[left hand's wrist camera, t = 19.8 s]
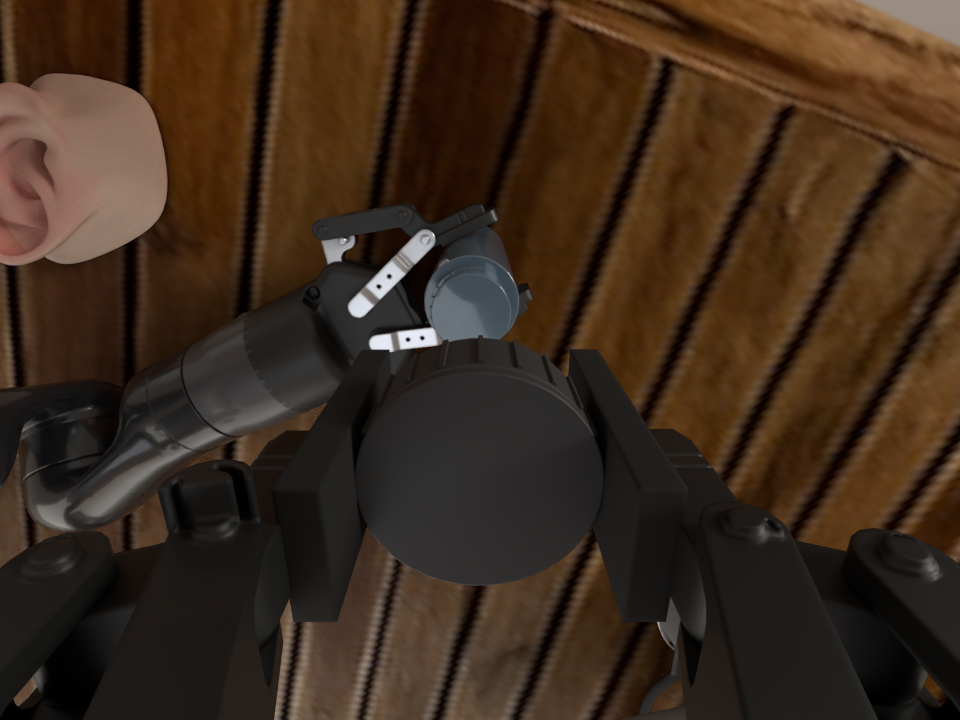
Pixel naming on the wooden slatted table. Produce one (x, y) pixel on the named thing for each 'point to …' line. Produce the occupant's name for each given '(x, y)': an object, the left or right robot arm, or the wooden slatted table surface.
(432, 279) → the blue-grey cylindrical bottle
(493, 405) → the lid
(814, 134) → the wooden slatted table surface
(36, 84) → the anatomical model
